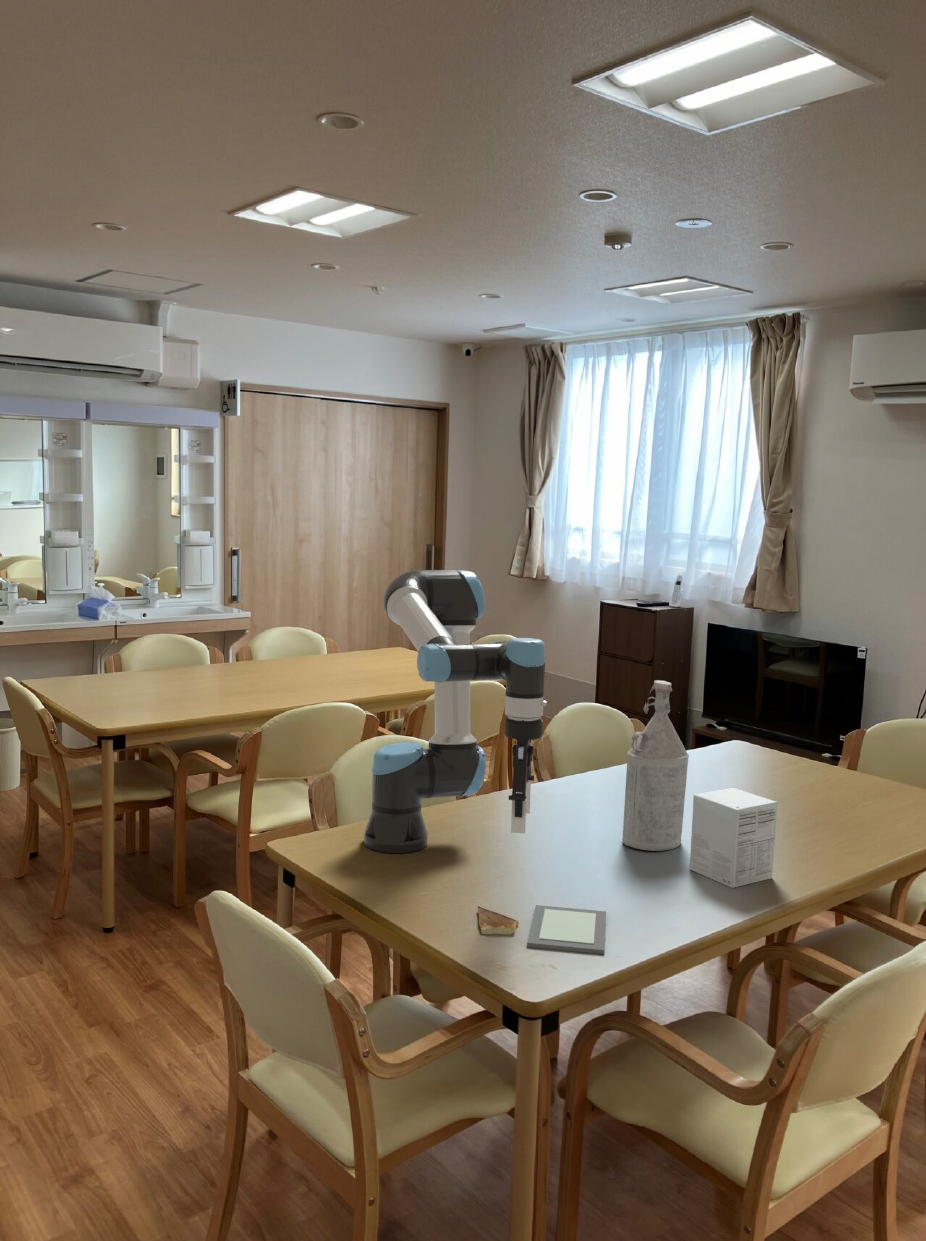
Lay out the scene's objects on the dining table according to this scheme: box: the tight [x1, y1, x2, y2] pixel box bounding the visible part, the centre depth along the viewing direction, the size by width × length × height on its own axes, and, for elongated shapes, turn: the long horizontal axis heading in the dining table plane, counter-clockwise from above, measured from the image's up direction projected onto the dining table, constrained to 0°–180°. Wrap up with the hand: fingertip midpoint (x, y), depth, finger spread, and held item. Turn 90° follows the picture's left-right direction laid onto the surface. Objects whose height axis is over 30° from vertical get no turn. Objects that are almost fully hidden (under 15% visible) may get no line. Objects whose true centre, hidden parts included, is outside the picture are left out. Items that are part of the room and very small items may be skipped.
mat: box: [526, 904, 607, 955], centre depth 192 cm, size 14×18×1 cm
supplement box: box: [689, 787, 778, 889], centre depth 224 cm, size 13×13×18 cm
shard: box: [477, 906, 520, 935], centre depth 195 cm, size 11×8×2 cm
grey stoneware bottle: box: [621, 679, 690, 852], centre depth 242 cm, size 13×17×40 cm
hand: (520, 822), depth 201 cm, fingers open, 13 cm apart
